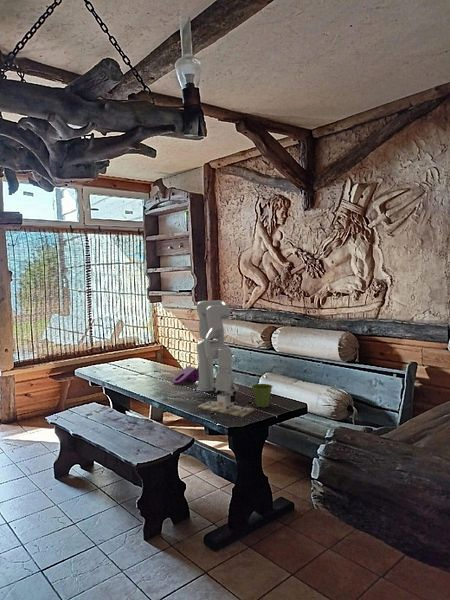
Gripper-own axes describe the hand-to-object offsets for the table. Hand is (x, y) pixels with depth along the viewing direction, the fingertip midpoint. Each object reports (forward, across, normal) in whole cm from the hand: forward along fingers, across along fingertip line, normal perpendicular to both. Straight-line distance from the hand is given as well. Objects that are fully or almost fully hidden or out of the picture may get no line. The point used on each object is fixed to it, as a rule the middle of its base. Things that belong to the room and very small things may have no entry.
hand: (225, 400), depth 252 cm
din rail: (+5, 0, 0) cm, 5 cm away
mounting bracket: (+6, -59, +35) cm, 69 cm away
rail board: (+5, 0, 0) cm, 5 cm away
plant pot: (+5, +14, +16) cm, 22 cm away
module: (+4, 0, 0) cm, 4 cm away
